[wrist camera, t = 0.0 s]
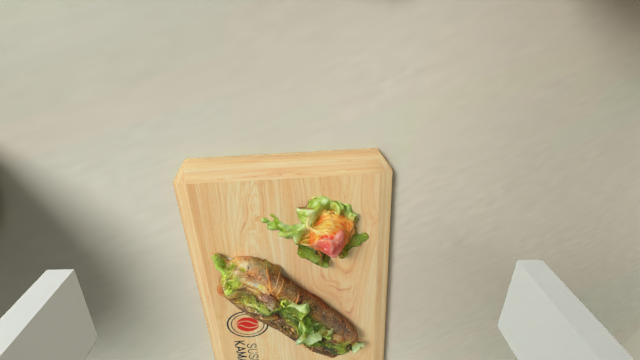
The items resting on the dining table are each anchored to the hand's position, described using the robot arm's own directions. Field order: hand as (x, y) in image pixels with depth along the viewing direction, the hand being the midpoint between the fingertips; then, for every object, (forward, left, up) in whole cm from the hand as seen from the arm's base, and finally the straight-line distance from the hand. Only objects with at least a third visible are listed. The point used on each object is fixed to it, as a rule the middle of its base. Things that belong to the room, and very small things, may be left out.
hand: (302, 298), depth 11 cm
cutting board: (+24, -1, -29) cm, 37 cm away
